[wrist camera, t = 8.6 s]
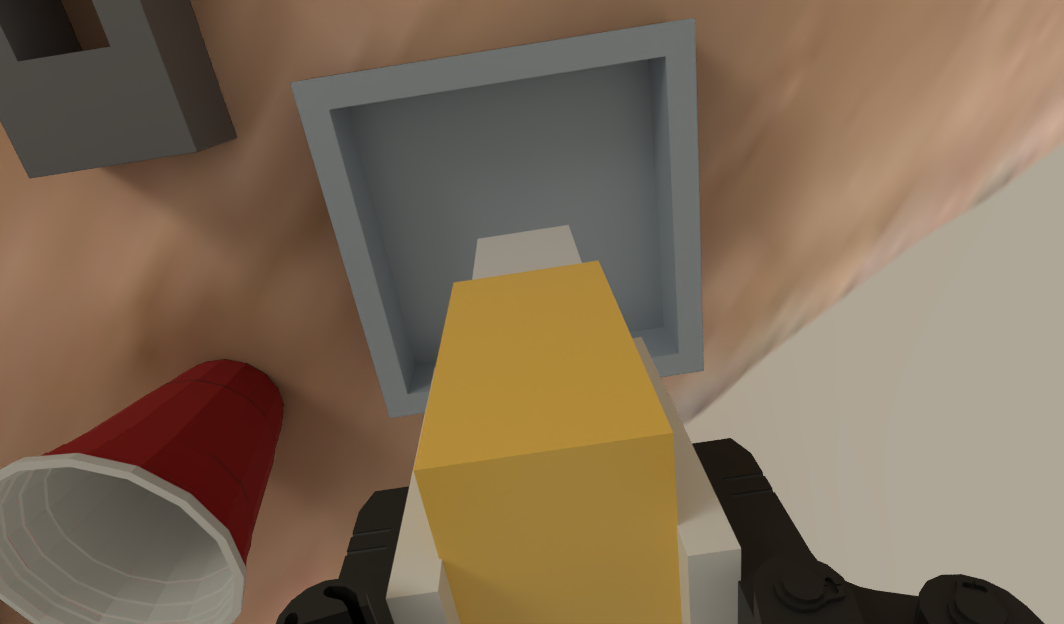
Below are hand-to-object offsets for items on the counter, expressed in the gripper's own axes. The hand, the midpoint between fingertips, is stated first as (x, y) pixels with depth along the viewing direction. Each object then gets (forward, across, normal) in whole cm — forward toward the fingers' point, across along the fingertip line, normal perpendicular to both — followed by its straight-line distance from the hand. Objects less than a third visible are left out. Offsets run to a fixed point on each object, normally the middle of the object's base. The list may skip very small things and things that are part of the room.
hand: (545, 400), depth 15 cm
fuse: (+6, 0, 0) cm, 6 cm away
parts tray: (+17, 0, 0) cm, 17 cm away
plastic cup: (+17, -18, -8) cm, 26 cm away
